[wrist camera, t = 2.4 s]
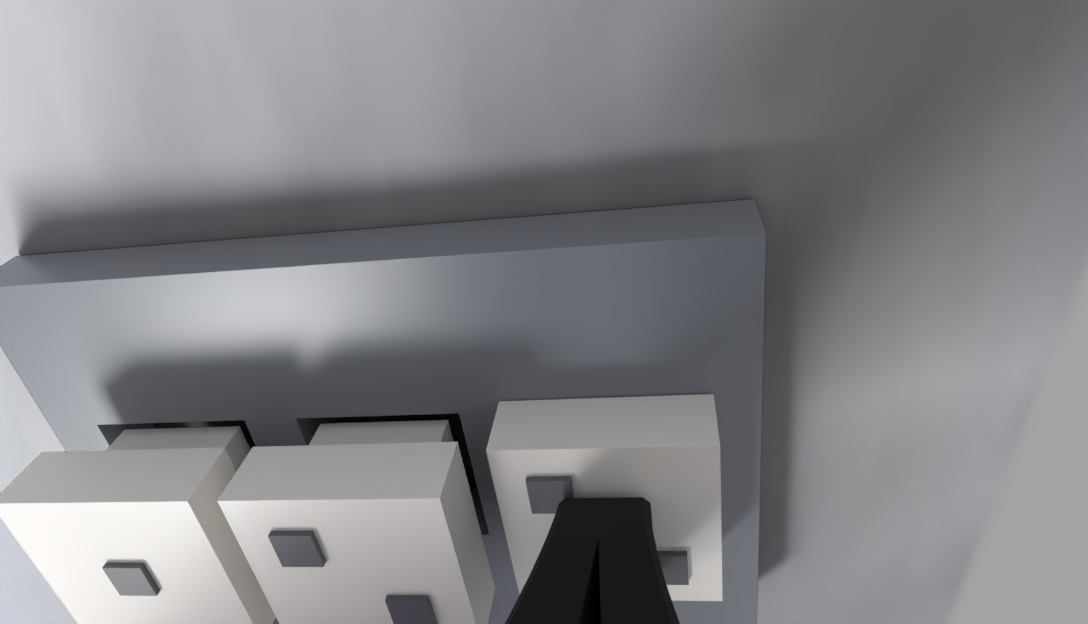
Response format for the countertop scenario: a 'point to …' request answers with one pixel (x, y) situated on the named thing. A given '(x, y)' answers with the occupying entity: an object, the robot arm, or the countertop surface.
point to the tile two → (363, 527)
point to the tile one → (139, 529)
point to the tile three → (615, 476)
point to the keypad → (414, 339)
